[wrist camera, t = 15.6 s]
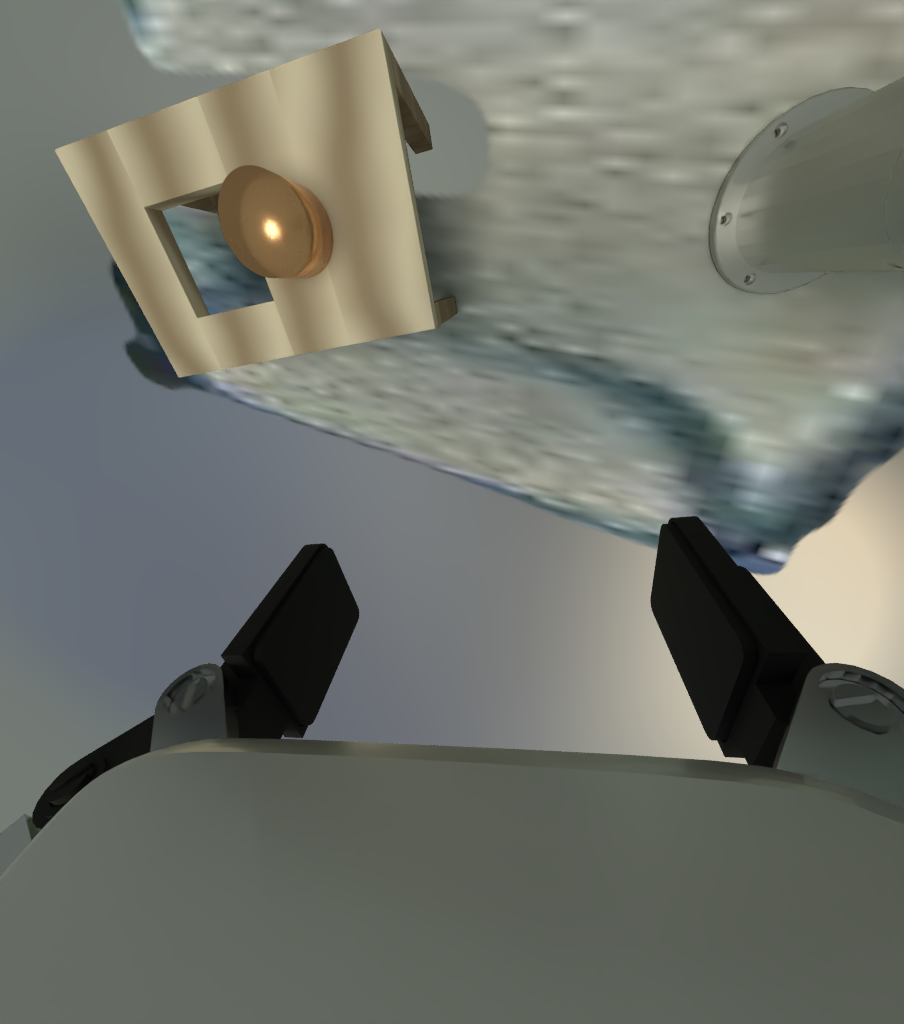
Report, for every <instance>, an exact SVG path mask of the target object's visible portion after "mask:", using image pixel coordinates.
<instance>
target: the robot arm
mask: <svg viewBox="0 0 904 1024" xmlns="http://www.w3.org/2000/svg"><path fill="white" fill-rule="evenodd" d="M775 130H776V131H777V135H776V137H774V131H775ZM721 217H723V218H724V221H723V223H722V224H720V220H721ZM710 249H711V255H712V259H713V261H714V264H715V266H716V268H717V270H718V272H719V273H720V274H721V276H722V277H723V278H724V279H725V280H726V281H727V282H728V283H730V284H731V285H732V286H734V287H735V288H738V289H740V290H743V291H746V292H751V293H759V294H774V293H779V292H785V291H789V290H792V289H795V288H798V287H801V286H804V285H806V284H808V283H810V282H812V281H814V280H816V279H817V278H819V277H821V276H823V275H824V274H826V273H827V272H852V271H899V270H904V77H903V78H901V79H899V80H897V81H895V82H893V83H891V84H889V85H887V86H885V87H883V88H881V89H879V90H877V91H875V92H874V91H872V90H869V89H865V88H855V87H847V88H841V89H834V90H829V91H827V92H824V93H821V94H819V95H816V96H813V97H811V98H809V99H807V100H805V101H803V102H802V103H800V104H798V105H796V106H794V107H793V108H791V109H790V110H788V111H787V112H785V113H784V114H782V115H781V116H780V117H778V118H777V119H775V120H774V121H773V122H772V123H771V124H769V125H768V126H767V127H766V128H765V129H764V130H763V131H762V132H760V133H759V134H758V135H757V136H756V137H755V139H754V140H753V141H752V142H751V143H750V144H749V145H748V147H747V148H746V149H745V150H744V151H743V152H742V154H741V155H740V157H739V158H738V160H737V161H736V163H735V164H734V166H733V167H732V169H731V170H730V172H729V174H728V175H727V177H726V179H725V181H724V183H723V185H722V187H721V189H720V192H719V194H718V197H717V200H716V203H715V206H714V209H713V214H712V219H711V224H710ZM746 276H747V280H746V281H745V282H744V280H745V277H746ZM651 608H652V611H653V614H654V616H655V618H656V621H657V623H658V625H659V628H660V630H661V632H662V634H663V637H664V639H665V641H666V643H667V646H668V648H669V650H670V653H671V655H672V657H673V659H674V662H675V664H676V666H677V669H678V671H679V673H680V675H681V678H682V680H683V682H684V685H685V687H686V689H687V691H688V694H689V696H690V698H691V700H692V703H693V705H694V707H695V710H696V712H697V714H698V716H699V719H700V721H701V723H702V725H703V728H704V730H705V732H706V734H707V736H708V737H709V739H711V740H717V741H718V743H719V745H720V747H721V750H722V752H723V754H724V756H725V757H737V758H738V757H739V758H745V759H746V761H747V763H748V765H747V764H737V763H729V762H719V761H709V760H695V759H679V758H665V757H651V756H636V755H620V754H619V755H618V754H600V753H598V754H597V753H581V752H580V753H579V752H561V751H542V750H522V749H502V748H481V747H480V748H479V747H459V746H438V745H416V744H393V743H370V742H346V741H345V742H344V741H321V740H320V741H319V740H296V739H295V740H294V739H281V737H282V735H284V737H295V738H303V736H304V734H305V732H306V729H307V727H308V725H311V724H312V723H313V722H314V720H315V718H316V716H317V714H318V712H319V709H320V707H321V704H322V702H323V700H324V698H325V695H326V693H327V691H328V688H329V686H330V684H331V682H332V679H333V677H334V675H335V672H336V670H337V668H338V665H339V663H340V661H341V658H342V656H343V654H344V651H345V649H346V647H347V645H348V642H349V640H350V638H351V636H352V633H353V631H354V629H355V626H356V624H357V622H358V619H359V609H358V606H357V604H356V602H355V599H354V597H353V595H352V592H351V590H350V588H349V586H348V584H347V581H346V579H345V577H344V574H343V572H342V570H341V567H340V565H339V563H338V561H337V558H336V556H335V554H334V552H333V550H332V549H331V548H328V547H327V545H325V544H310V545H305V546H304V547H303V548H302V549H301V550H300V552H299V553H298V554H297V556H296V557H295V558H294V560H293V561H292V562H291V564H290V565H289V566H288V568H287V569H286V570H285V572H284V573H283V574H282V575H281V577H280V578H279V580H278V581H277V582H276V583H275V585H274V586H273V588H272V589H271V590H270V591H269V593H268V594H267V595H266V597H265V598H264V599H263V601H262V602H261V603H260V604H259V606H258V607H257V609H256V610H255V611H254V612H253V614H252V615H251V616H250V618H249V619H248V620H247V622H246V623H245V624H244V626H243V627H242V628H241V630H240V631H239V632H238V633H237V635H236V636H235V637H234V639H233V640H232V641H231V643H230V644H229V645H228V647H227V648H226V649H225V651H224V652H223V654H222V655H221V656H222V658H223V659H224V661H225V662H224V663H223V665H222V666H221V667H219V666H218V665H216V664H210V663H208V664H203V665H199V666H197V667H195V668H192V669H190V670H188V671H187V672H185V673H184V674H182V675H181V676H179V677H178V678H177V679H176V680H174V681H173V682H172V683H171V684H170V685H169V686H168V687H167V689H165V691H164V692H163V693H162V695H161V696H160V698H159V700H158V702H157V705H156V708H155V715H153V716H151V717H150V718H148V719H147V720H145V721H143V722H142V723H140V724H138V725H136V726H135V727H133V728H132V729H130V730H128V731H127V732H125V733H123V734H122V735H120V736H118V737H117V738H115V739H113V740H112V741H110V742H108V743H107V744H105V745H103V746H102V747H100V748H98V749H97V750H95V751H93V752H92V753H90V754H88V755H87V756H85V757H83V758H82V759H80V760H79V761H77V762H76V763H74V764H73V765H71V766H70V767H69V768H67V769H66V770H65V771H64V772H63V773H61V774H60V775H59V776H58V777H57V778H56V779H55V780H54V781H53V783H52V784H51V785H50V786H49V787H48V788H47V789H46V790H45V792H44V793H43V795H42V796H41V798H40V799H39V801H38V802H37V805H36V807H35V809H34V811H33V816H32V817H30V816H28V815H26V814H24V815H23V816H21V817H20V818H19V819H18V820H16V821H15V822H14V823H13V824H11V825H10V826H9V827H8V828H6V829H5V830H4V831H3V832H1V833H0V1024H904V689H903V688H901V687H900V686H898V685H897V684H895V683H894V682H892V681H891V680H889V679H886V678H885V677H882V676H880V675H878V674H876V673H874V672H872V671H869V670H866V669H863V668H859V667H856V666H853V665H847V664H839V663H829V664H825V663H824V661H823V660H822V659H821V658H820V657H819V655H818V654H817V653H816V652H815V651H814V649H813V648H812V647H811V646H810V644H809V643H808V642H807V641H806V640H805V638H804V637H803V636H802V635H801V634H800V632H799V631H798V630H797V629H796V628H795V626H794V625H793V624H792V623H791V622H790V621H789V619H788V618H787V617H786V615H785V614H784V613H783V612H782V611H781V609H780V608H779V607H778V606H777V605H776V604H775V602H774V601H773V600H772V599H771V597H770V596H769V595H768V594H767V593H766V591H765V590H764V589H763V588H762V586H761V585H760V584H759V583H758V582H757V581H756V579H755V578H754V577H753V576H752V574H751V573H750V572H749V571H748V570H747V569H746V568H744V567H741V566H737V565H736V563H735V562H734V561H733V560H732V558H731V557H730V556H729V555H728V553H727V552H726V551H725V550H724V548H723V547H722V546H721V545H720V543H719V542H718V541H717V540H716V538H715V537H714V536H713V535H712V533H711V532H710V531H709V530H708V529H707V527H706V526H705V525H704V524H703V522H702V521H701V520H700V519H699V518H698V517H696V516H691V517H678V518H671V519H670V520H669V522H668V524H663V525H662V526H661V530H660V537H659V544H658V551H657V558H656V565H655V572H654V579H653V586H652V593H651Z"/></svg>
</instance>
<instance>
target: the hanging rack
mask: <svg viewBox="0 0 904 1024" xmlns="http://www.w3.org/2000/svg"><path fill="white" fill-rule="evenodd" d="M405 140H406V141H407V143H408V144H409V145H410V147H411V148H412V150H413V151H414V152H415V153H416V154H418V153H421V152H424V151H428V150H431V149H432V143H431V136H430V129H429V124H428V122H427V120H426V118H425V116H424V114H423V112H422V110H421V108H420V106H419V104H418V102H417V100H416V98H415V96H414V94H413V92H412V90H411V88H410V86H409V84H408V82H407V80H406V78H405V76H404V75H403V73H402V71H401V69H400V67H399V65H398V63H397V61H396V59H395V57H394V55H393V53H392V51H391V49H390V47H389V45H388V43H387V41H386V39H385V37H384V35H383V33H382V31H381V29H380V28H379V29H376V30H374V31H371V32H368V33H366V34H363V35H360V36H358V37H355V38H352V39H350V40H347V41H344V42H342V43H339V44H336V45H333V46H331V47H328V48H325V49H323V50H320V51H317V52H315V53H312V54H309V55H307V56H304V57H301V58H299V59H296V60H293V61H291V62H288V63H285V64H283V65H280V66H277V67H275V68H272V69H269V70H267V71H264V72H261V73H259V74H256V75H253V76H251V77H248V78H245V79H243V80H240V81H237V82H235V83H232V84H229V85H227V86H224V87H221V88H218V89H216V90H213V91H210V92H208V93H205V94H203V95H200V96H197V97H194V98H192V99H189V100H186V101H184V102H181V103H178V104H176V105H173V106H171V107H168V108H165V109H162V110H160V111H157V112H154V113H152V114H149V115H146V116H144V117H141V118H138V119H136V120H133V121H130V122H128V123H125V124H122V125H120V126H117V127H114V128H111V129H109V130H106V131H104V132H101V133H98V134H96V135H93V136H90V137H87V138H85V139H82V140H79V141H77V142H74V143H71V144H69V145H66V146H63V147H61V148H58V149H56V150H55V152H56V153H57V155H58V157H59V158H60V161H61V163H62V164H63V166H64V168H65V170H66V172H67V173H68V175H69V177H70V179H71V181H72V183H73V185H74V186H75V188H76V190H77V192H78V194H79V196H80V197H81V199H82V201H83V203H84V205H85V206H86V208H87V210H88V212H89V214H90V216H91V217H92V219H93V221H94V223H95V225H96V227H97V228H98V230H99V232H100V234H101V236H102V237H103V239H104V241H105V243H106V245H107V247H108V249H109V250H110V252H111V254H112V256H113V258H114V260H115V261H116V263H117V265H118V267H119V269H120V271H121V272H122V274H123V276H124V278H125V280H126V282H127V283H128V285H129V287H130V289H131V291H132V293H133V294H134V296H135V298H136V300H137V302H138V304H139V305H140V307H141V309H142V311H143V313H144V315H145V316H146V318H147V320H148V322H149V324H150V326H151V327H152V329H153V331H154V333H155V335H156V337H157V338H158V340H159V342H160V344H161V346H162V348H163V349H164V351H165V353H166V355H167V357H168V359H169V360H170V362H171V364H172V366H173V368H174V370H175V371H176V373H177V375H178V377H184V376H190V375H195V374H200V373H205V372H211V371H216V370H221V369H226V368H232V367H237V366H242V365H247V364H252V363H258V362H263V361H268V360H273V359H279V358H284V357H289V356H294V355H300V354H305V353H310V352H315V351H320V350H326V349H331V348H336V347H341V346H347V345H352V344H357V343H362V342H368V341H373V340H378V339H383V338H388V337H394V336H399V335H404V334H409V333H415V332H420V331H425V330H430V329H435V328H437V327H438V326H440V325H441V324H442V323H444V322H445V321H447V320H448V319H450V318H451V317H452V316H454V315H455V314H457V307H456V301H455V296H454V297H450V298H445V299H440V300H437V301H434V299H433V293H432V288H431V282H430V276H429V271H428V265H427V260H426V254H425V248H424V243H423V237H422V232H421V226H420V220H419V215H418V209H417V203H416V198H415V192H414V187H413V181H412V175H411V170H410V165H409V159H408V153H407V147H406V142H405ZM245 165H254V166H259V167H262V168H265V169H267V170H269V171H271V172H273V173H276V174H278V175H280V176H282V177H284V178H287V179H289V180H291V181H293V182H295V183H298V184H300V185H302V186H304V187H305V188H307V189H308V190H310V191H311V192H312V193H313V194H314V195H315V196H316V197H317V198H318V199H319V201H320V202H321V203H322V205H323V206H324V208H325V210H326V212H327V214H328V216H329V219H330V222H331V226H332V231H333V251H332V255H331V258H330V261H329V263H328V265H327V266H326V268H325V269H324V270H323V271H322V272H321V273H320V274H318V275H316V276H314V277H311V278H267V277H265V278H266V281H267V283H268V286H269V289H270V291H271V294H272V297H273V299H274V301H271V302H267V303H262V304H258V305H254V306H249V307H245V308H240V309H236V310H232V311H227V312H223V313H218V314H214V315H210V314H209V312H208V310H207V307H206V305H205V303H204V301H203V299H202V297H201V294H200V292H199V290H198V288H197V286H196V284H195V281H194V279H193V277H192V275H191V273H190V271H189V269H188V266H187V264H186V262H185V260H184V258H183V256H182V253H181V251H180V249H179V247H178V245H177V243H176V240H175V238H174V236H173V234H172V232H171V230H170V228H169V225H168V223H167V221H166V219H165V217H164V215H163V212H162V211H163V210H166V209H169V208H173V207H176V206H179V205H181V206H186V207H190V208H195V209H199V210H203V211H208V212H212V213H217V212H218V198H219V192H220V189H221V186H222V184H223V181H224V180H225V178H226V177H227V175H228V174H229V173H230V172H231V171H233V170H234V169H236V168H238V167H240V166H245Z"/></svg>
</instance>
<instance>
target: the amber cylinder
mask: <svg viewBox="0 0 904 1024" xmlns="http://www.w3.org/2000/svg"><path fill="white" fill-rule="evenodd" d="M218 215H219V221H220V225H221V229H222V232H223V235H224V237H225V239H226V241H227V243H228V245H229V247H230V249H231V250H232V252H233V253H234V255H235V256H236V257H237V258H238V260H239V261H240V262H241V263H242V264H243V265H244V266H246V267H247V268H248V269H249V270H251V271H252V272H254V273H256V274H258V275H260V276H263V277H267V278H311V277H314V276H316V275H318V274H320V273H321V272H322V271H323V270H324V269H325V268H326V266H327V265H328V263H329V261H330V258H331V255H332V251H333V231H332V226H331V222H330V219H329V216H328V214H327V212H326V210H325V208H324V206H323V205H322V203H321V202H320V201H319V199H318V198H317V197H316V196H315V195H314V194H313V193H312V192H311V191H310V190H308V189H307V188H305V187H304V186H302V185H300V184H298V183H295V182H293V181H291V180H289V179H287V178H284V177H282V176H280V175H278V174H276V173H273V172H271V171H269V170H267V169H265V168H262V167H259V166H254V165H245V166H240V167H238V168H236V169H234V170H233V171H231V172H230V173H229V174H228V175H227V177H226V178H225V180H224V181H223V184H222V186H221V189H220V192H219V198H218Z"/></svg>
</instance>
